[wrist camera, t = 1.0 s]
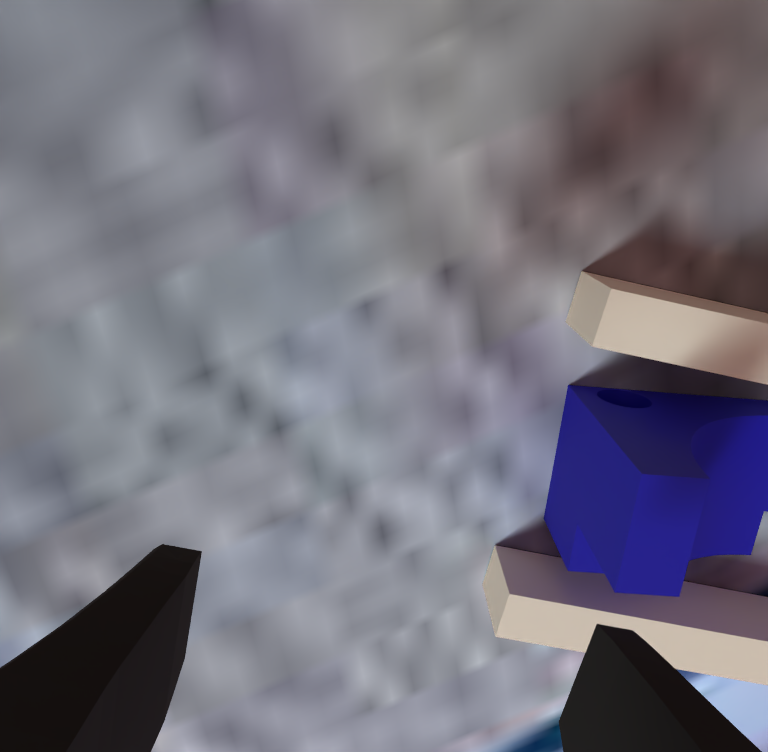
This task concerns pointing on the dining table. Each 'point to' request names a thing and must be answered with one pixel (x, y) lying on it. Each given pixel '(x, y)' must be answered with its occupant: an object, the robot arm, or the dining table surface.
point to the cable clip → (656, 483)
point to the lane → (592, 590)
